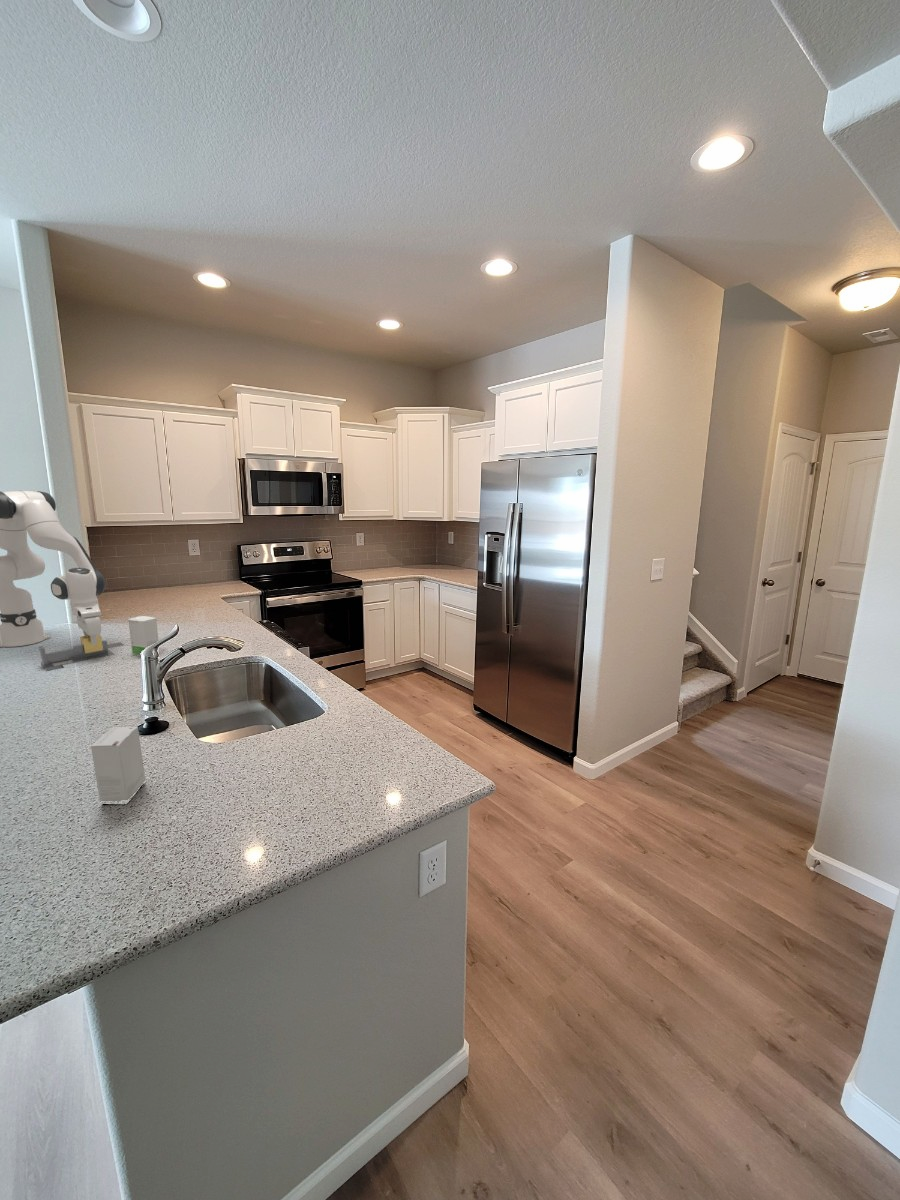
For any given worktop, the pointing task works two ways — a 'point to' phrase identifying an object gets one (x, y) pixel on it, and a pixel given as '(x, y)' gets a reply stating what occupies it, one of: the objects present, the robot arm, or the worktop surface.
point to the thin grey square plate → (115, 645)
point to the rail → (70, 656)
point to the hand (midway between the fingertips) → (91, 642)
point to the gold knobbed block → (88, 646)
